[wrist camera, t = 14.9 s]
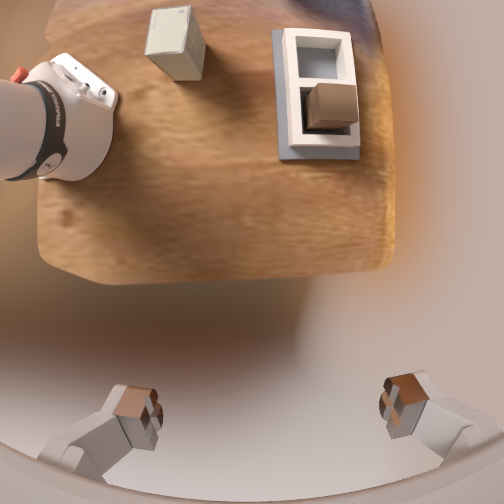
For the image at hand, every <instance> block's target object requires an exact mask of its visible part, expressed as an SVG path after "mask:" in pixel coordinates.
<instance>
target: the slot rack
mask: <svg viewBox="0 0 504 504" xmlns="http://www.w3.org/2000/svg"><path fill="white" fill-rule="evenodd" d="M271 35H272V48H273V62H274V78H275V94H276V111H277V131H278V152H279V159H347V160H360V150H359V146H360V126H359V122H357V123H354V124H351V125H349V126H346V127H343V128H341V129H338V130H336V131H304V114H303V101H304V100H305V98H306V97H307V96H308V95H309V93H310V92H311V91H312V90H313V88H314V87H315V86H316V85H317V83H333V84H347V85H356V76H355V67H354V59H353V51H352V44H351V37H350V33H349V32H341V31H331V30H319V29H302V28H285V29H284V30H272V31H271ZM356 94H357V86H356ZM357 106H358V98H357ZM358 120H359V111H358Z"/></svg>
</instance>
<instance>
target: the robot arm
mask: <svg viewBox="0 0 504 504" xmlns="http://www.w3.org/2000/svg"><path fill="white" fill-rule="evenodd" d="M11 81H12V82H11ZM11 81H6V80H1V79H0V180H3V179H5V180H8V181H18V180H27V179H33V178H37V177H38V178H39V179H49V178H57V179H61V180H65V181H77V180H80V179H83V178H85V177H87V176H88V175H90V174H91V173H92V172H94V171H95V170H96V169H97V168H98V167H99V165H100V164H101V163H102V161H103V160H104V158H105V156H106V154H107V152H108V150H109V147H110V144H111V140H112V135H113V112H114V109H115V107H116V104H117V101H118V92H117V91H116V90H115V89H114V88H113V87H111V86H110V85H109V84H108V83H106V82H105V81H104V80H103V79H101V78H100V77H99V76H98V75H96V74H95V73H94V72H92V71H91V70H90V69H89V68H87V67H86V66H85V65H83V64H82V63H81V62H80V61H78V60H77V59H76V58H74V57H73V56H72V55H70V54H68V53H63V54H61V55H59V56H57V57H55V58H54V59H52V60H51V61H50V62H49V61H46V62H43V63H41V64H39V65H37V66H36V67H35V68H34V69H32V70H31V71H30V72H28V71H27V70H26V69H25V68H23V67H19V68H18V69H17V71H16V73H15V74H14V76H12V77H11ZM105 91H107V93H106V94H105V95H104V92H105ZM383 387H384V389H385V391H384V392H383V393H382V394H381V397H380V401H379V409H380V414H381V416H382V418H383V419H384V420H386V421H388V423H387V426H386V428H387V430H388V432H389V435H390V437H391V439H395V438H400V437H404V436H408V435H412V436H413V437H415V438H416V439H417V440H419V441H420V442H421V443H423V444H424V445H426V446H427V447H428V448H430V449H431V450H432V451H434V452H435V453H437V454H438V455H439V456H441V457H442V458H444V461H443V462H442V463H441V465H440V466H439V467H438V468H435V469H433V470H430V471H427V472H424V473H421V474H418V475H415V476H412V477H409V478H406V479H402V480H399V481H396V482H392V483H388V484H384V485H381V486H376V487H372V488H368V489H363V490H359V491H354V492H349V493H343V494H337V495H331V496H324V497H316V498H308V499H298V500H286V501H268V502H226V501H208V500H196V499H186V498H177V497H170V496H163V495H157V494H151V493H145V492H140V491H135V490H130V489H126V488H122V487H118V486H114V485H110V484H108V483H107V482H106V481H105V479H104V478H103V477H102V476H101V475H103V474H104V473H105V472H106V471H108V469H110V468H111V467H112V466H113V465H114V464H116V463H117V462H118V461H119V460H120V459H122V458H123V457H124V456H125V455H126V454H128V453H129V452H130V451H131V450H132V448H136V449H143V450H151V451H154V449H155V446H156V443H157V440H158V436H157V433H156V432H157V431H159V430H160V429H161V427H162V424H163V410H162V407H161V405H160V404H159V403H158V402H157V399H158V395H157V391H156V390H155V389H152V388H143V387H135V386H125V385H119V384H117V385H115V386H114V387H113V389H112V391H111V393H110V395H109V396H108V398H107V400H106V402H105V403H104V405H103V407H102V409H101V411H100V412H95V413H93V414H92V415H90V416H88V417H86V418H85V419H83V420H81V421H79V422H77V423H75V424H74V425H72V426H70V427H68V428H66V429H65V430H63V431H61V432H59V433H57V434H55V435H53V436H52V437H50V438H49V440H48V441H47V443H46V444H45V446H44V448H43V449H42V451H41V453H40V455H39V456H38V458H37V459H35V458H32V457H30V456H28V455H26V454H23V453H21V452H19V451H17V450H15V449H13V448H11V447H9V446H7V445H5V444H3V443H1V442H0V504H504V432H503V431H502V430H501V428H500V427H499V425H498V424H497V423H496V421H495V420H494V418H493V417H492V416H491V415H488V414H486V413H484V412H481V411H479V410H477V409H474V408H472V407H470V406H468V405H465V404H463V403H461V402H459V401H457V400H454V399H452V398H450V397H448V396H446V395H445V396H442V395H441V394H440V392H439V391H438V389H437V388H436V386H435V385H434V384H433V382H432V381H431V379H430V378H429V377H428V375H427V374H426V372H425V371H423V370H421V371H417V372H413V373H409V374H404V375H399V376H395V377H390V378H387V379H386V380H385V382H384V386H383Z"/></svg>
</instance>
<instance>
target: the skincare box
mask: <svg viewBox="0 0 504 504" xmlns="http://www.w3.org/2000/svg"><path fill="white" fill-rule="evenodd" d="M205 49H206V42H205V40H204V37H203V35H202V32H201V30H200V28H199V25H198V23H197V20H196V18H195V15H194V13H193V11H192V8H191V6H178V7H166V8H159V9H154V10H153V11H152V14H151V18H150V23H149V28H148V34H147V39H146V46H145V55H146V56H147V57H148V58H149V59H150V60H151V61H152V62H153V63H154V64H155V65H156V66H157V67H158V68H160V69H161V70H162V71H163V72H164V73H165V74H166V75H167V76H168V77H169V78H170V79H171V80H172V81H200V80H201V79H202V72H203V65H204V57H205Z"/></svg>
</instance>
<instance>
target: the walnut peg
mask: <svg viewBox="0 0 504 504" xmlns="http://www.w3.org/2000/svg"><path fill="white" fill-rule="evenodd" d="M303 114H304V131H336V130H338V129H341V128H343V127H346V126H349V125H351V124H354V123H357V122H359V120H358V106H357V94H356V85H347V84H333V83H317V85H316V86H315V87H314V88H313V90H312V91H311V92H310V93H309V95H308V96H307V97H306V98H305V100H304V101H303Z"/></svg>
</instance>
